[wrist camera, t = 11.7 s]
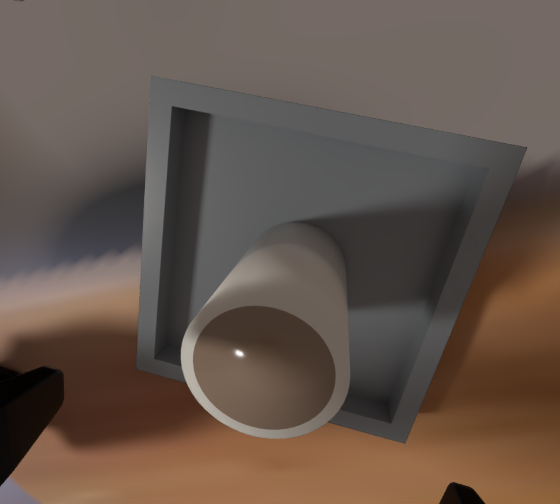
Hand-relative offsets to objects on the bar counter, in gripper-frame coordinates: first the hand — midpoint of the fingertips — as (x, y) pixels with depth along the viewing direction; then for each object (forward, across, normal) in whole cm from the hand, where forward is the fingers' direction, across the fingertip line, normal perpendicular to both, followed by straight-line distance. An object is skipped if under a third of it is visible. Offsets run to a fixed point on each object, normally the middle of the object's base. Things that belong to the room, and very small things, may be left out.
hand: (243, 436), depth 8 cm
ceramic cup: (+10, 0, 0) cm, 10 cm away
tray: (+11, 0, 0) cm, 11 cm away
